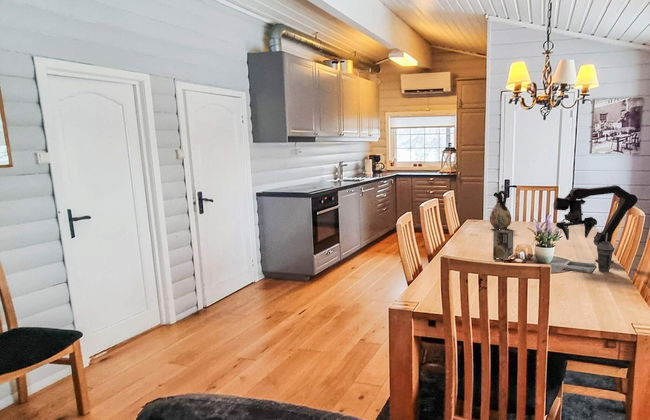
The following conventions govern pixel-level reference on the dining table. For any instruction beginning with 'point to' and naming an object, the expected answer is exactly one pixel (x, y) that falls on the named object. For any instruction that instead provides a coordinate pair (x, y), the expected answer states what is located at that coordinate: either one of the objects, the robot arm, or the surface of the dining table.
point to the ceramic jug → (500, 212)
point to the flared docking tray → (578, 267)
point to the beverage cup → (604, 255)
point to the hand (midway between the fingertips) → (576, 238)
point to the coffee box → (502, 244)
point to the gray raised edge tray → (582, 266)
